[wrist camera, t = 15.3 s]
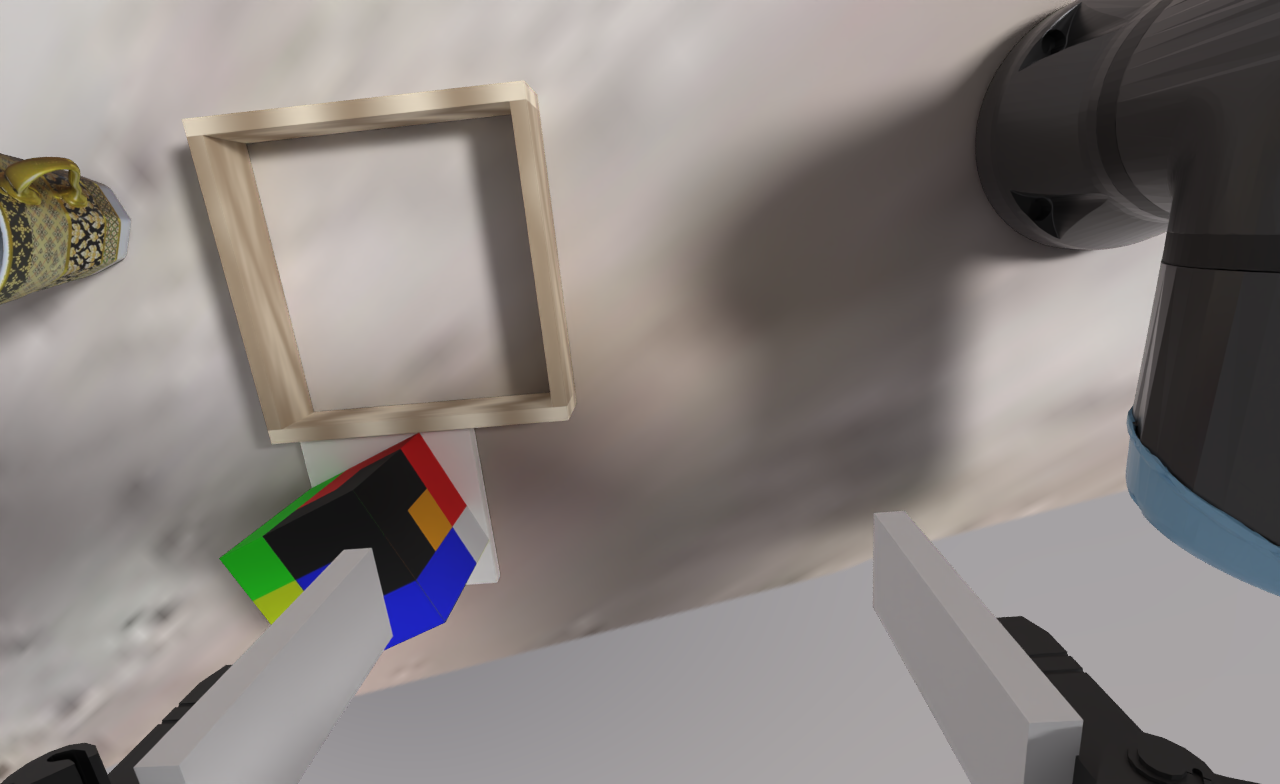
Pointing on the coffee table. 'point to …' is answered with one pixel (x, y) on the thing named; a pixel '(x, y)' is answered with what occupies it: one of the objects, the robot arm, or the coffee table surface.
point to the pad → (452, 454)
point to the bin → (260, 286)
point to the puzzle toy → (370, 539)
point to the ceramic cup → (55, 225)
